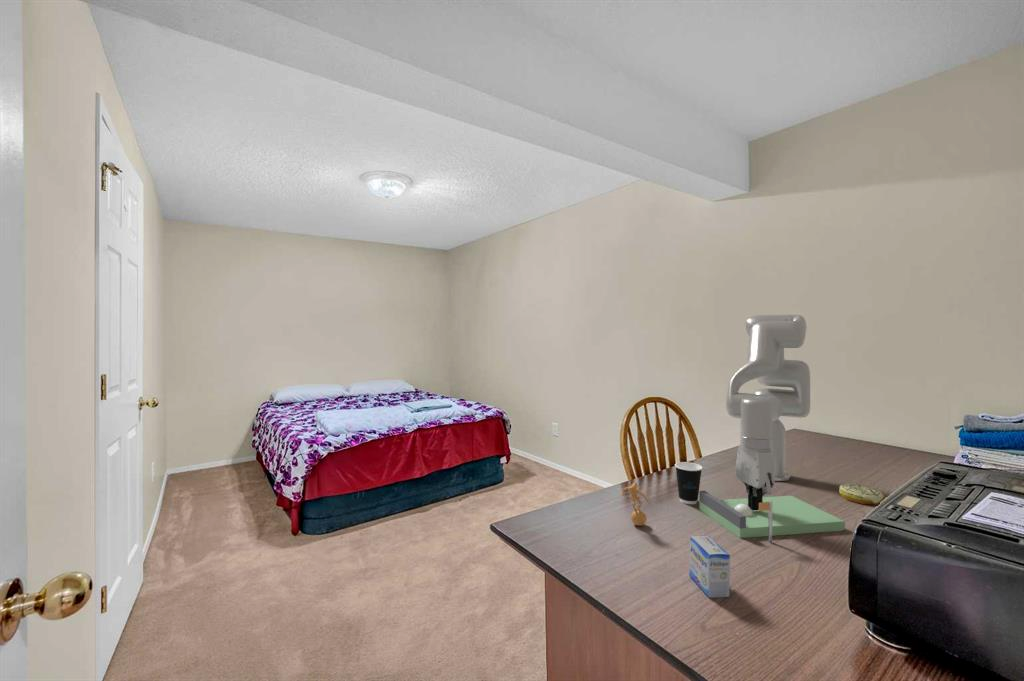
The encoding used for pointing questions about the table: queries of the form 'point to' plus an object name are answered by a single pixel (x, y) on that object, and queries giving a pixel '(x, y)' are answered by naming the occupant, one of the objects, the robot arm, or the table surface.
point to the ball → (744, 510)
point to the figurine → (638, 515)
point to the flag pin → (765, 507)
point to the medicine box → (709, 566)
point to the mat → (785, 516)
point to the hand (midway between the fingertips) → (755, 508)
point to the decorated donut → (861, 494)
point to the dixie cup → (688, 481)
